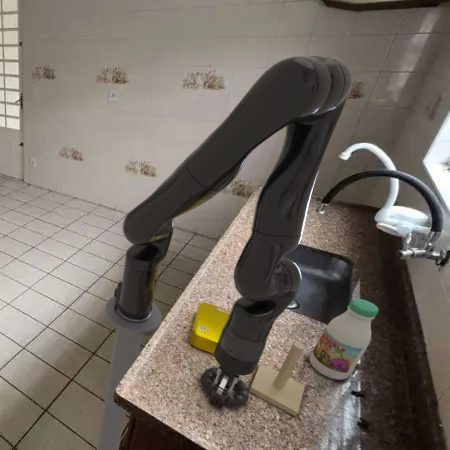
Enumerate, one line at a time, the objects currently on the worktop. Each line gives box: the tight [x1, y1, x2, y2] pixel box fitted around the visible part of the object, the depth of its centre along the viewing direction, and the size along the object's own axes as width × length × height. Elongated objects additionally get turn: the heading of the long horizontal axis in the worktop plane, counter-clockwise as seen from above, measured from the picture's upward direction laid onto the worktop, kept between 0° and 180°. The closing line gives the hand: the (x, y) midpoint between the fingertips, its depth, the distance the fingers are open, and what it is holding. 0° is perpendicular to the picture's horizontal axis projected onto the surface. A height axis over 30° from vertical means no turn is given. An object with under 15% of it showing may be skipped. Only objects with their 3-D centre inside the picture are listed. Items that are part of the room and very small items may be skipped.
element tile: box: [189, 302, 231, 355], centre depth 93 cm, size 15×15×5 cm
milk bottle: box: [309, 298, 379, 381], centre depth 81 cm, size 8×8×20 cm
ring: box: [200, 366, 250, 408], centre depth 80 cm, size 10×10×2 cm
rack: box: [248, 341, 306, 417], centre depth 77 cm, size 9×9×14 cm
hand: (217, 399), depth 78 cm, fingers closed on ring, 2 cm apart
